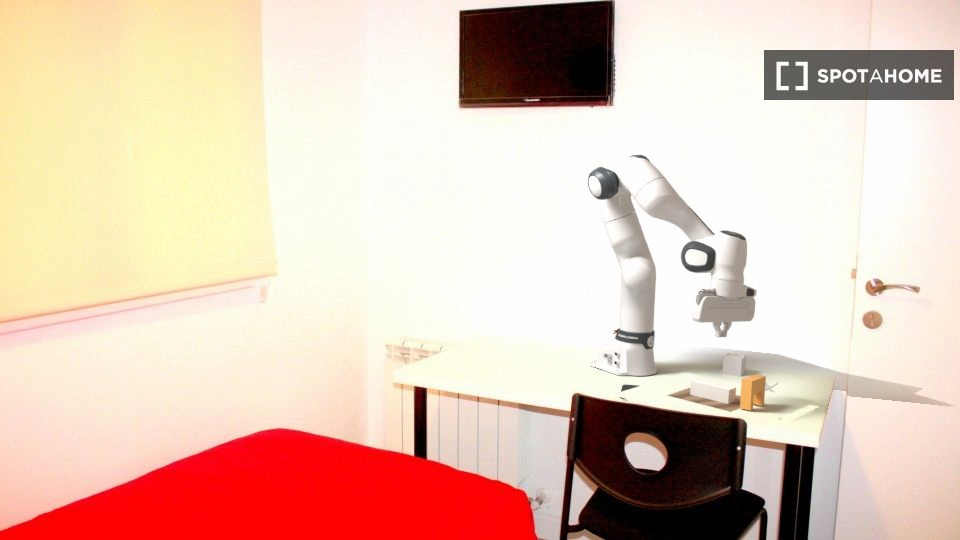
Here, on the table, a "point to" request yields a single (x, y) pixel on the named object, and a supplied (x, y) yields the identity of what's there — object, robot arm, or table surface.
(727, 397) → the long white block
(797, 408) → the table surface
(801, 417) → the table surface
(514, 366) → the table surface
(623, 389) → the phone
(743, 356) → the grey block
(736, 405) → the board
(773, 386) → the scissors
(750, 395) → the upright orange block
